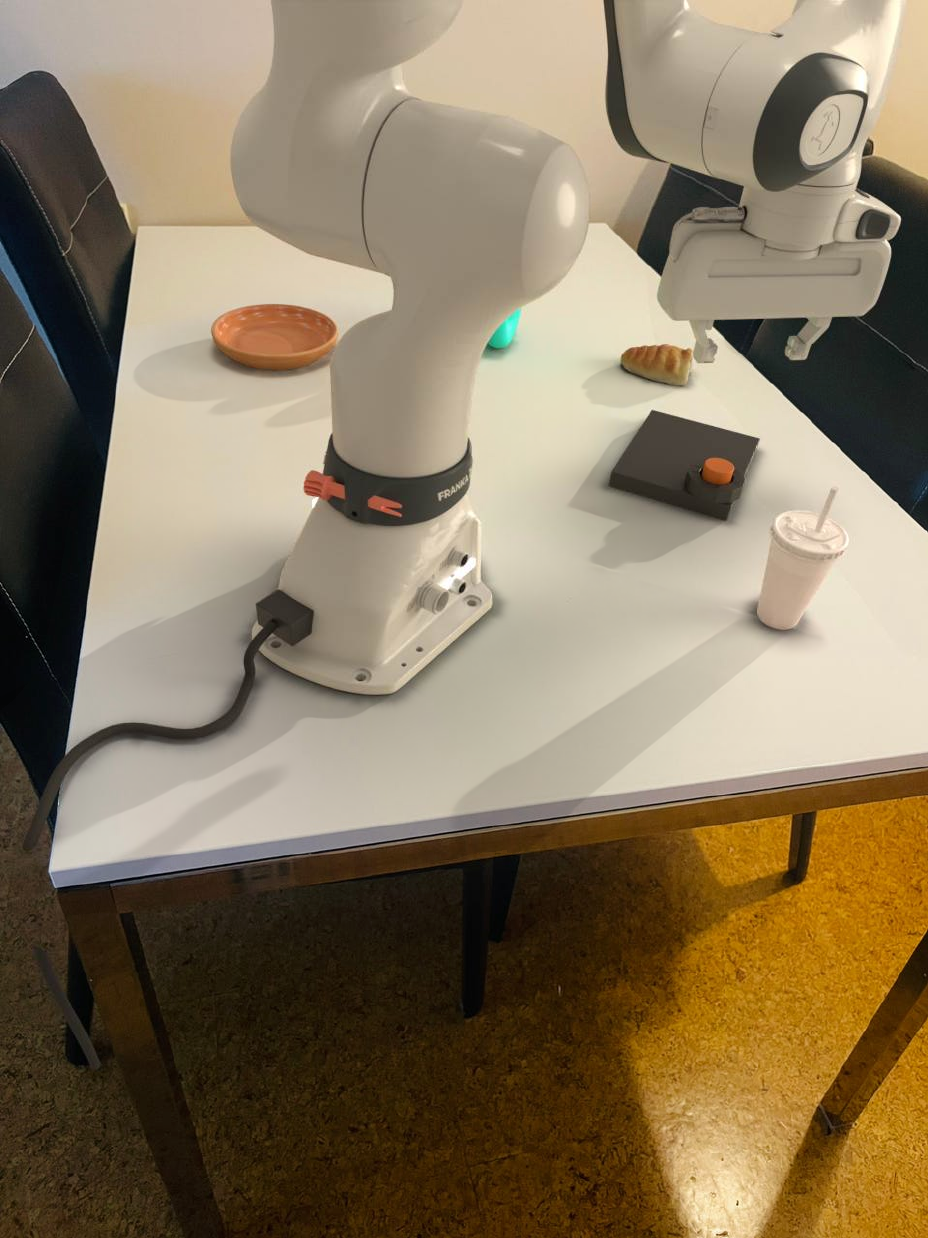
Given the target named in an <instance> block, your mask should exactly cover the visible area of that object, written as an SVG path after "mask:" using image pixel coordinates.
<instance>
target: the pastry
mask: <svg viewBox="0 0 928 1238" xmlns="http://www.w3.org/2000/svg"><path fill="white" fill-rule="evenodd" d="M693 351H694V350H693V349H692V348H691V347H688V348H686V349H684V348H682V347H678V346H676V345H670V344H668V343H663V344H659V345H658V344H652V345H642V346H635V347H634V346H633V347H628V349H626V350H625V351H624V352H623V353H622V354H621V356H620V364H621V365H622V366H623V368H624V369H625V370H626V371H628V372H629V373H632V374H633V375H635V376H639V377H642V378H643V379H647V380H651V381H653V382H658V383H660V384H661V383H665V384H667V385H671V386H676V387H677V386H678V387H679V386H680V387H681V386H685V385H686V384H687V383H688V380H689V376H690V373H691V372H692V370H693V359H694V357H693Z"/></svg>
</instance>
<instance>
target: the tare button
mask: <svg viewBox="0 0 928 1238" xmlns="http://www.w3.org/2000/svg"><path fill="white" fill-rule="evenodd" d="M733 471H734V466H733V464H732V463H731V462H729V461H727V460H725V459H721V458H710V459H708V460H706V461H705V464H704V468H703V472H702V478H703V479H705V480H706V481H708V482H710V483H714V484H724V485H726V484H729V483H730V480H731V477H732V474H733Z"/></svg>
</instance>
